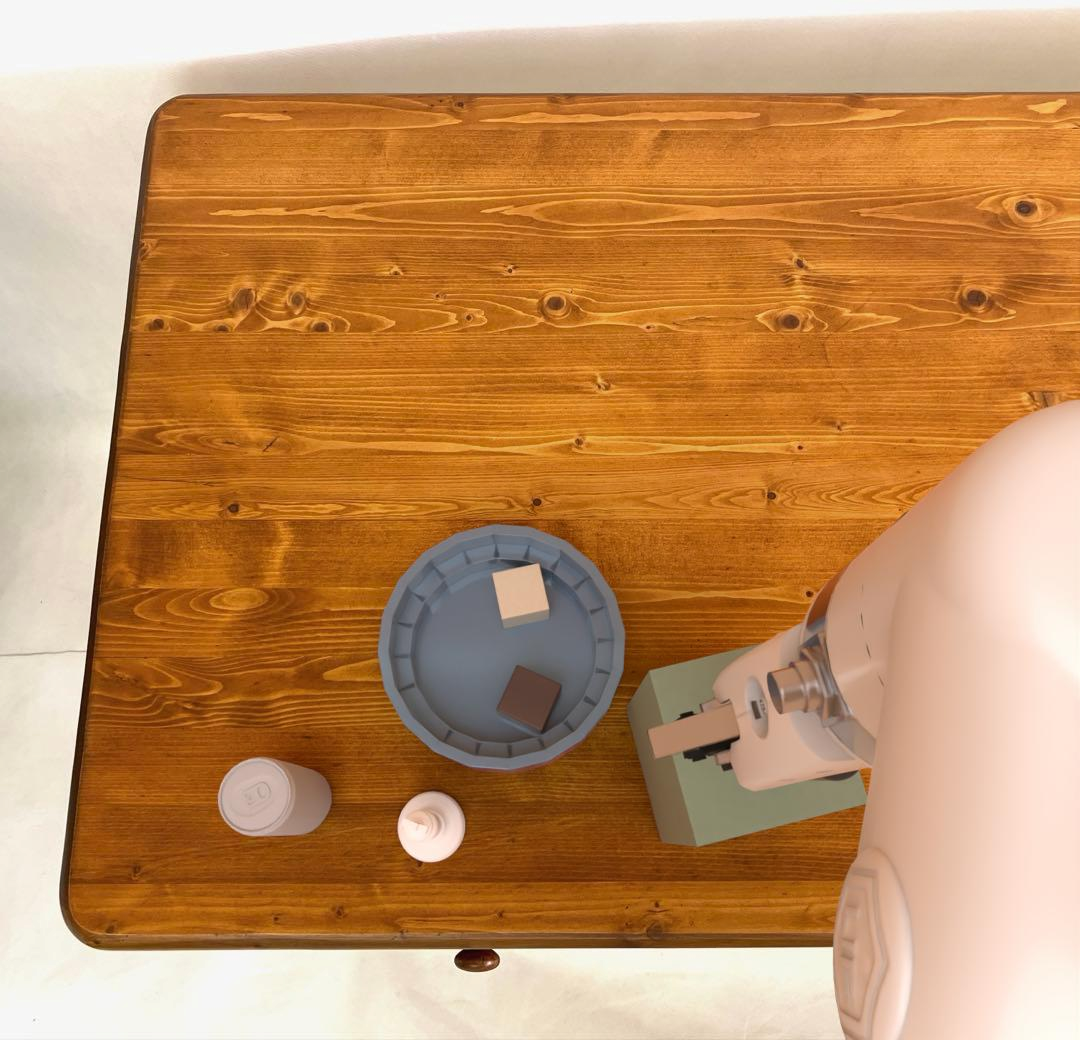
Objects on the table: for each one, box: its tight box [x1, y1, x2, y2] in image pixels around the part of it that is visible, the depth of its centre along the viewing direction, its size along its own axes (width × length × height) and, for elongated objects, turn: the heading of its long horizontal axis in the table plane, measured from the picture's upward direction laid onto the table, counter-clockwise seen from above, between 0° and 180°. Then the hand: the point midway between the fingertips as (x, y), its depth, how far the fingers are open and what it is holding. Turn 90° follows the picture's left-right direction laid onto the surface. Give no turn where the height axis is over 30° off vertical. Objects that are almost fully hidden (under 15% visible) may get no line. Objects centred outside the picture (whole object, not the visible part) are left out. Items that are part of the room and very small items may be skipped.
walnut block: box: [496, 665, 562, 735], centre depth 72 cm, size 4×4×4 cm
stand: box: [625, 642, 868, 848], centre depth 64 cm, size 10×10×18 cm
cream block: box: [492, 563, 549, 629], centre depth 74 cm, size 4×4×4 cm
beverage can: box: [217, 756, 333, 837], centre depth 66 cm, size 5×5×12 cm
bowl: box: [376, 523, 626, 775], centre depth 73 cm, size 18×18×6 cm
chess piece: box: [397, 790, 466, 863], centre depth 67 cm, size 5×5×10 cm
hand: (794, 718), depth 47 cm, fingers open, 6 cm apart
